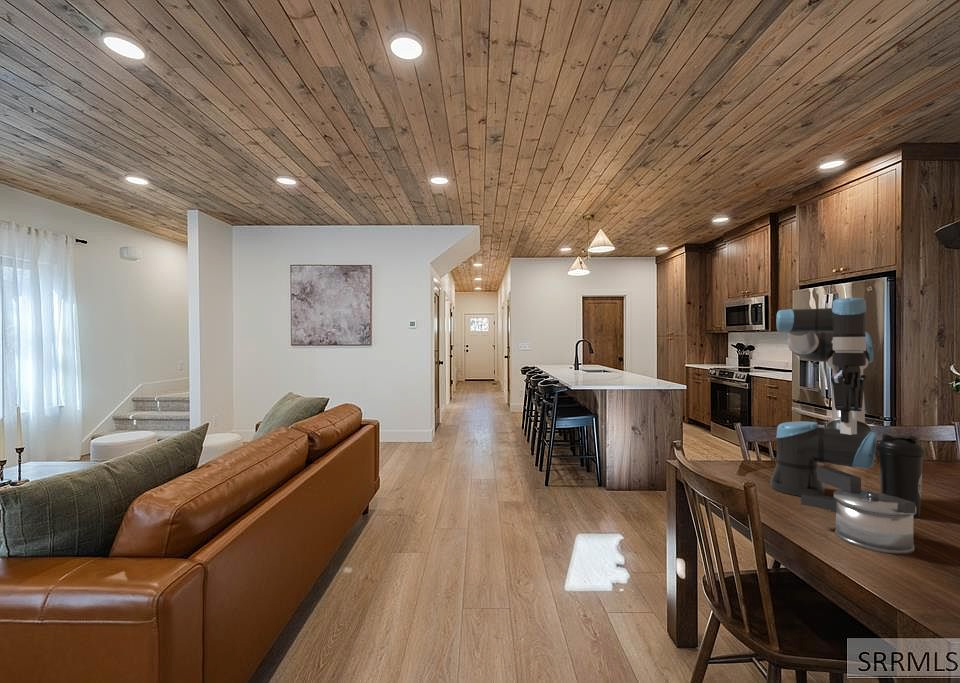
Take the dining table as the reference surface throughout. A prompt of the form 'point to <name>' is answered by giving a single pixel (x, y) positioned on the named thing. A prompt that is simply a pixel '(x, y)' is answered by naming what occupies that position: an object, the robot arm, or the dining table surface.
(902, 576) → the dining table surface
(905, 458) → the water bottle
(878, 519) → the pot
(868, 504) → the lid
